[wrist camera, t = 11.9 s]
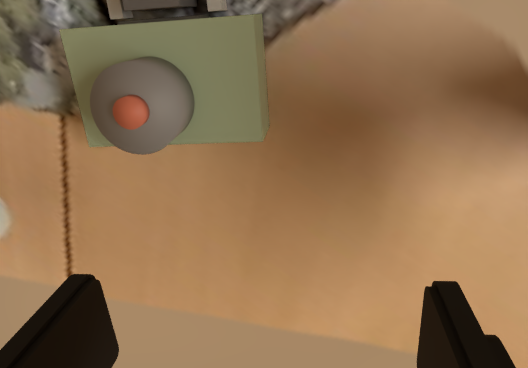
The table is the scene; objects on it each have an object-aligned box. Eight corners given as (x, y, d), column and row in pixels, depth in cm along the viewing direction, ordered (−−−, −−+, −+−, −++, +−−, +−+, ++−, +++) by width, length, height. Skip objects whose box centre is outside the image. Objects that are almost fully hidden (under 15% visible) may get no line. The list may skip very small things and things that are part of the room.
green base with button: (256, -60, 32) (232, -88, 23) (269, 126, 38) (254, 162, 29) (76, -41, 34) (-12, -59, 25) (115, 131, 40) (56, 166, 31)
